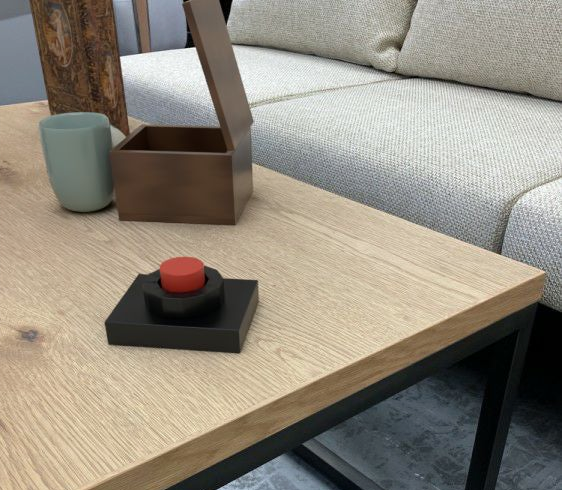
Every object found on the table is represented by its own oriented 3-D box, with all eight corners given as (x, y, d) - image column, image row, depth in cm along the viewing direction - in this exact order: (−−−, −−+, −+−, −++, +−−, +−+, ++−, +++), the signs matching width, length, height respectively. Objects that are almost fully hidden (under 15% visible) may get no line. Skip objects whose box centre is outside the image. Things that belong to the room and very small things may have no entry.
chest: (118, 220, 80) (108, 151, 76) (148, 186, 90) (141, 124, 85) (235, 225, 78) (231, 155, 74) (253, 190, 88) (251, 126, 84)
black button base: (107, 345, 57) (100, 302, 55) (141, 295, 65) (136, 254, 62) (240, 354, 56) (237, 310, 54) (259, 301, 63) (257, 260, 61)
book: (135, 139, 108) (111, -50, 94) (103, 146, 105) (74, -48, 91) (82, 120, 118) (54, -53, 104) (52, 126, 115) (19, -52, 101)
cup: (127, 195, 87) (116, 111, 81) (112, 218, 81) (99, 129, 75) (65, 195, 87) (50, 112, 82) (46, 218, 81) (27, 129, 75)
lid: (181, 3, 67) (189, 1, 66) (209, -9, 76) (215, -11, 76) (227, 151, 74) (235, 150, 74) (247, 123, 83) (254, 122, 83)
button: (156, 293, 57) (153, 273, 56) (168, 274, 60) (166, 255, 59) (199, 295, 56) (197, 276, 55) (209, 276, 59) (208, 257, 58)
